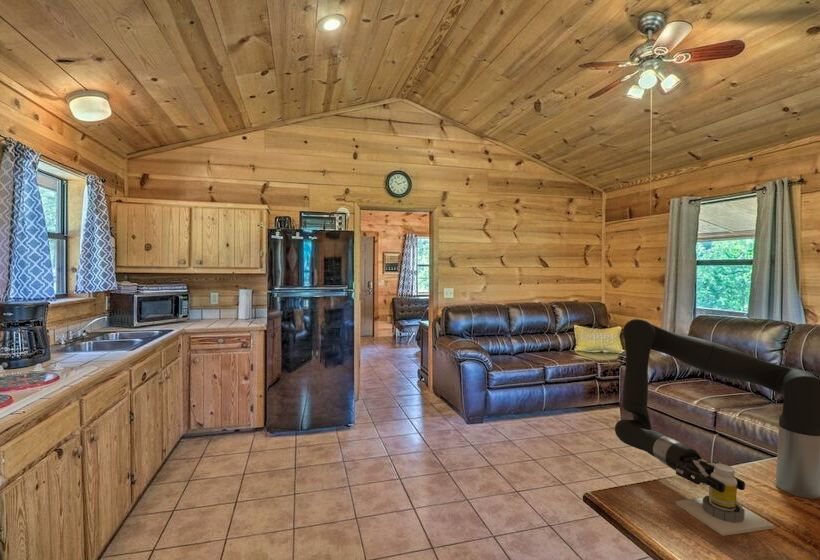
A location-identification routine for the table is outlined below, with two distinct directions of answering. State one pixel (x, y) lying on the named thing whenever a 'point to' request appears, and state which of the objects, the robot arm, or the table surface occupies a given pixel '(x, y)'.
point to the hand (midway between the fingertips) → (733, 487)
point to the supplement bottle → (727, 497)
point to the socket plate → (723, 525)
